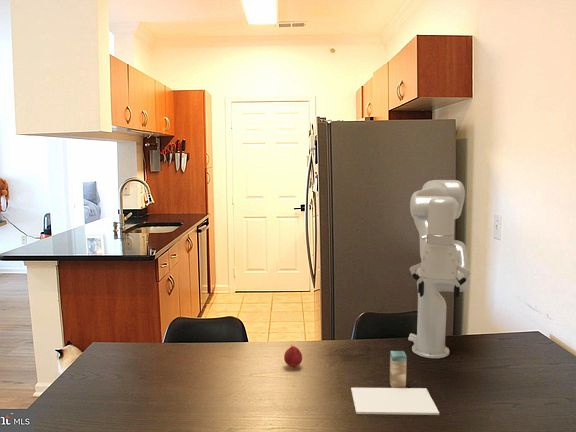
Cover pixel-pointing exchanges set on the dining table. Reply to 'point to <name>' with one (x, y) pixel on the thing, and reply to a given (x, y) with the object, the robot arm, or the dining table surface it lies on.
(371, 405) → the mat
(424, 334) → the robot arm
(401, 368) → the block
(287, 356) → the onion
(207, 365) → the dining table surface
